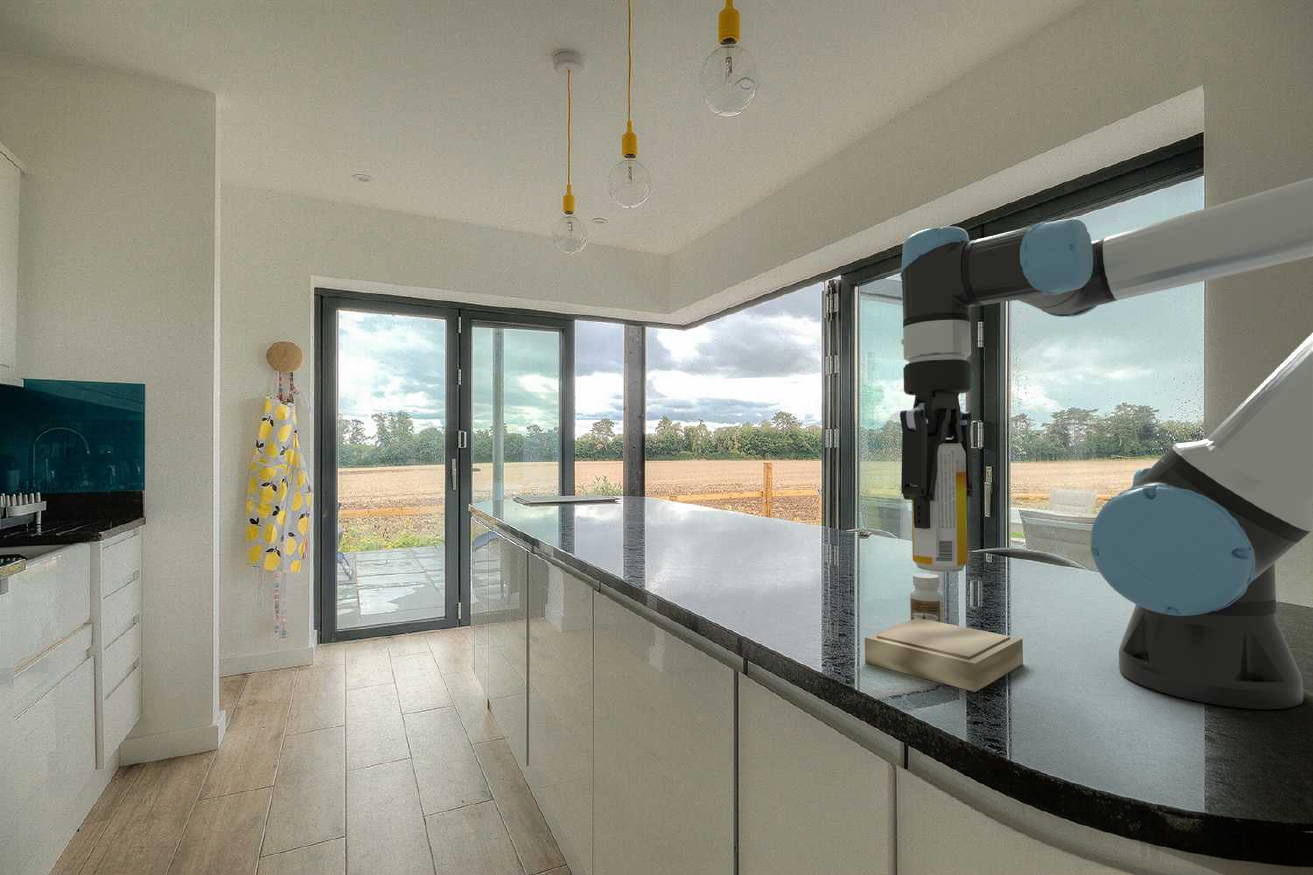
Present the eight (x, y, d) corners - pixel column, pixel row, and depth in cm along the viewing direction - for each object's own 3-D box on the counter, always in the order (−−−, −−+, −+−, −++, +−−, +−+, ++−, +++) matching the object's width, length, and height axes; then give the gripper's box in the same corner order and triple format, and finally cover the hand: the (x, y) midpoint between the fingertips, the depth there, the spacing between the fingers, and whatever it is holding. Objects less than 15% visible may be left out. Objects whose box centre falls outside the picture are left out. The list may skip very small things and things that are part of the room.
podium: (1023, 663, 77) (1022, 636, 77) (975, 692, 68) (974, 661, 68) (918, 640, 87) (917, 616, 87) (865, 662, 78) (864, 635, 78)
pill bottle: (908, 632, 90) (907, 577, 91) (912, 624, 94) (911, 571, 94) (943, 636, 88) (941, 579, 89) (945, 628, 92) (944, 573, 92)
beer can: (956, 563, 81) (954, 443, 81) (976, 573, 75) (973, 443, 75) (906, 563, 81) (904, 444, 81) (921, 572, 75) (919, 443, 75)
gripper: (942, 369, 87) (946, 541, 87) (865, 358, 75) (869, 558, 74) (1001, 363, 82) (1005, 547, 81) (928, 350, 69) (932, 567, 69)
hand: (940, 552), depth 78 cm, fingers closed on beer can, 6 cm apart
